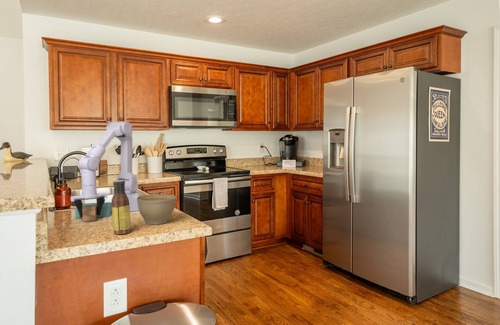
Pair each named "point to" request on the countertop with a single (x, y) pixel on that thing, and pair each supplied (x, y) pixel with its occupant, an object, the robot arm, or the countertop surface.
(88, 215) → the walnut block
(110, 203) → the teal bin
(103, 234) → the countertop surface
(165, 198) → the planter bowl
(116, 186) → the sauce bottle
